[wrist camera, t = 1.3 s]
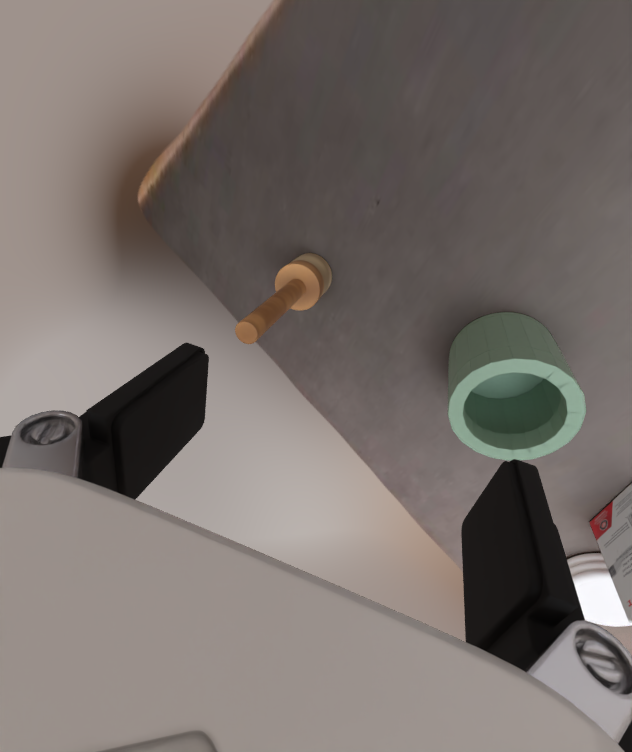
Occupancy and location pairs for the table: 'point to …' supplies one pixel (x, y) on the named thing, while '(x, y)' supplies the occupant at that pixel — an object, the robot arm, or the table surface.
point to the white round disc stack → (596, 590)
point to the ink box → (617, 544)
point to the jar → (511, 389)
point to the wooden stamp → (288, 295)
